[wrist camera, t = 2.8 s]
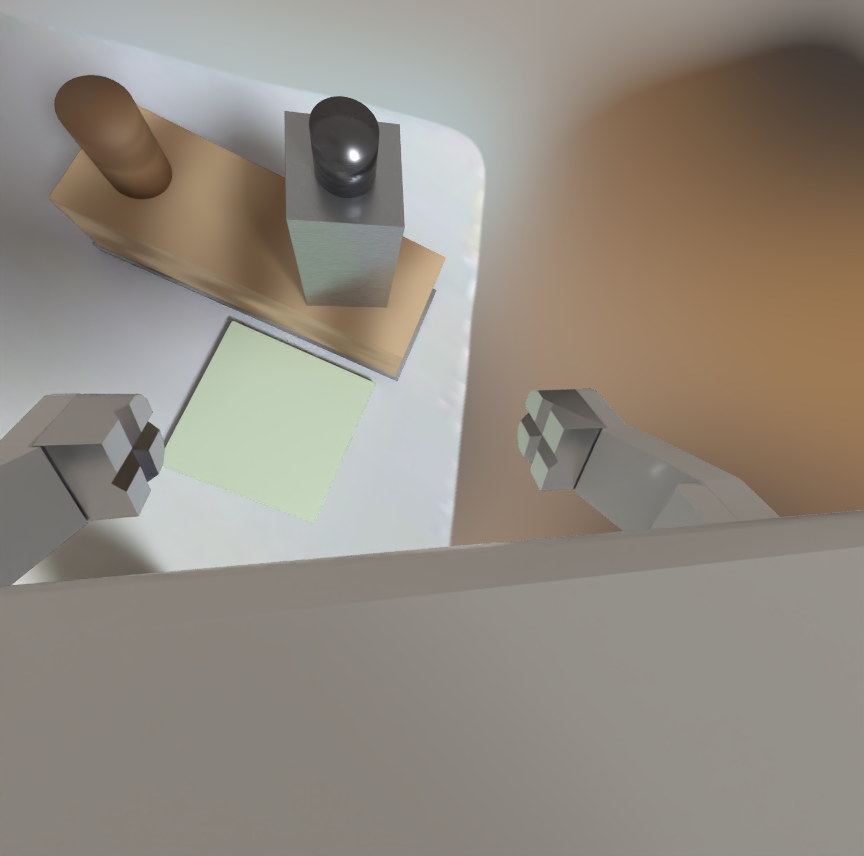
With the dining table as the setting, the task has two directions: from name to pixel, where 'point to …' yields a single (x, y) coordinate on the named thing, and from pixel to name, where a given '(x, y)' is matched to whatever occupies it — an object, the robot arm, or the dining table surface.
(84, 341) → the dining table surface
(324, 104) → the lever cap
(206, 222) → the plane body
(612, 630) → the robot arm
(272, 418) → the felt mat
